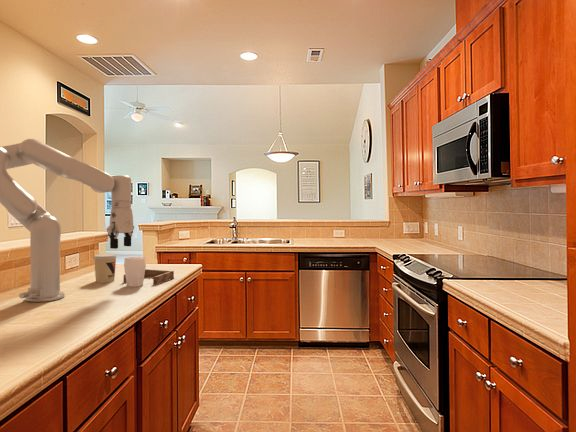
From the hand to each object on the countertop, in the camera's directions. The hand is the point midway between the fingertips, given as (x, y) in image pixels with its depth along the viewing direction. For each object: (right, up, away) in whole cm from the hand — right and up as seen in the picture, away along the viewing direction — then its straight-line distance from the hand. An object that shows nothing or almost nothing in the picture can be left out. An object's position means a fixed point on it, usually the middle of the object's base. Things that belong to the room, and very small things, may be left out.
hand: (120, 247), depth 165 cm
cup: (+2, -18, +10) cm, 21 cm away
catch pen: (+4, -17, +22) cm, 28 cm away
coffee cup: (-15, -17, +18) cm, 29 cm away
